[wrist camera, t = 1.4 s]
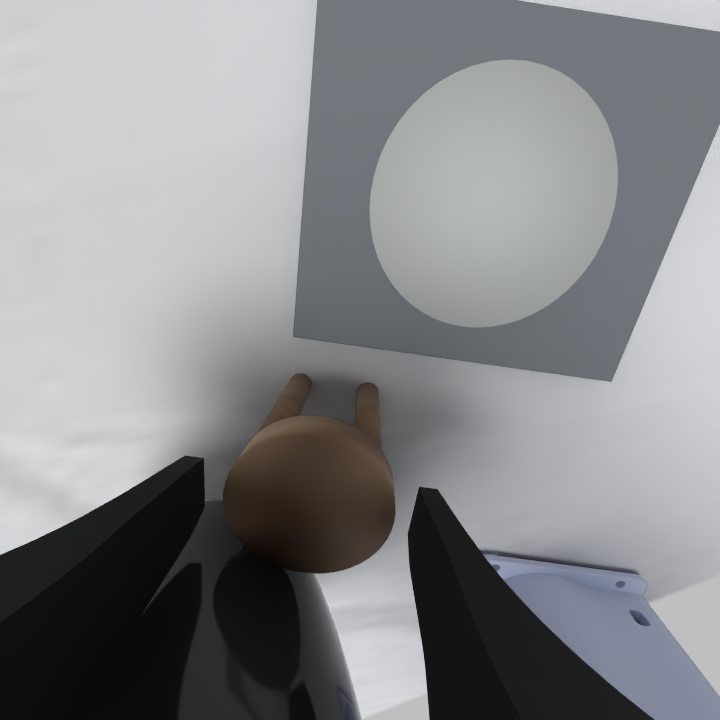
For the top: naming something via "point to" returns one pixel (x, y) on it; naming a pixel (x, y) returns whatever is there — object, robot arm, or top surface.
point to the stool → (313, 486)
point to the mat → (496, 177)
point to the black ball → (230, 642)
